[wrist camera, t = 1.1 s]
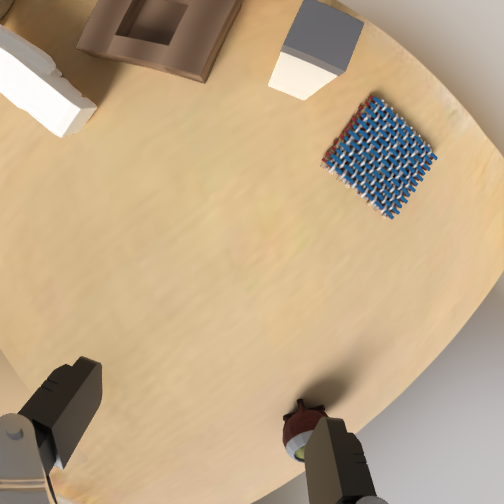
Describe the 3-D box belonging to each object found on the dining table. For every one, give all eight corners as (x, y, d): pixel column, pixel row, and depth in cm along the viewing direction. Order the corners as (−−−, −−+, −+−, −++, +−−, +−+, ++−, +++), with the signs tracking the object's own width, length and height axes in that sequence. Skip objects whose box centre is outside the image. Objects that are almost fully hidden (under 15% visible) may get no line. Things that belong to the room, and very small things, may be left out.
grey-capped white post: (266, 86, 30) (283, 44, 16) (281, 52, 28) (305, -4, 15) (304, 101, 30) (345, 71, 17) (317, 68, 29) (364, 22, 16)
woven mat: (368, 91, 30) (375, 88, 28) (432, 153, 32) (441, 154, 30) (314, 163, 33) (318, 164, 31) (384, 221, 35) (391, 226, 33)
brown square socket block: (91, 56, 27) (75, 47, 24) (127, -17, 24) (116, -31, 21) (205, 83, 29) (199, 75, 25) (241, 5, 26) (241, -10, 23)
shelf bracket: (4, 13, 23) (-45, -3, 12) (118, 99, 34) (86, 99, 23) (-17, 45, 25) (-70, 39, 14) (91, 133, 35) (53, 148, 24)
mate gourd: (286, 431, 44) (297, 511, 30) (273, 399, 42) (282, 487, 28) (332, 418, 44) (355, 496, 30) (324, 385, 41) (350, 470, 27)
